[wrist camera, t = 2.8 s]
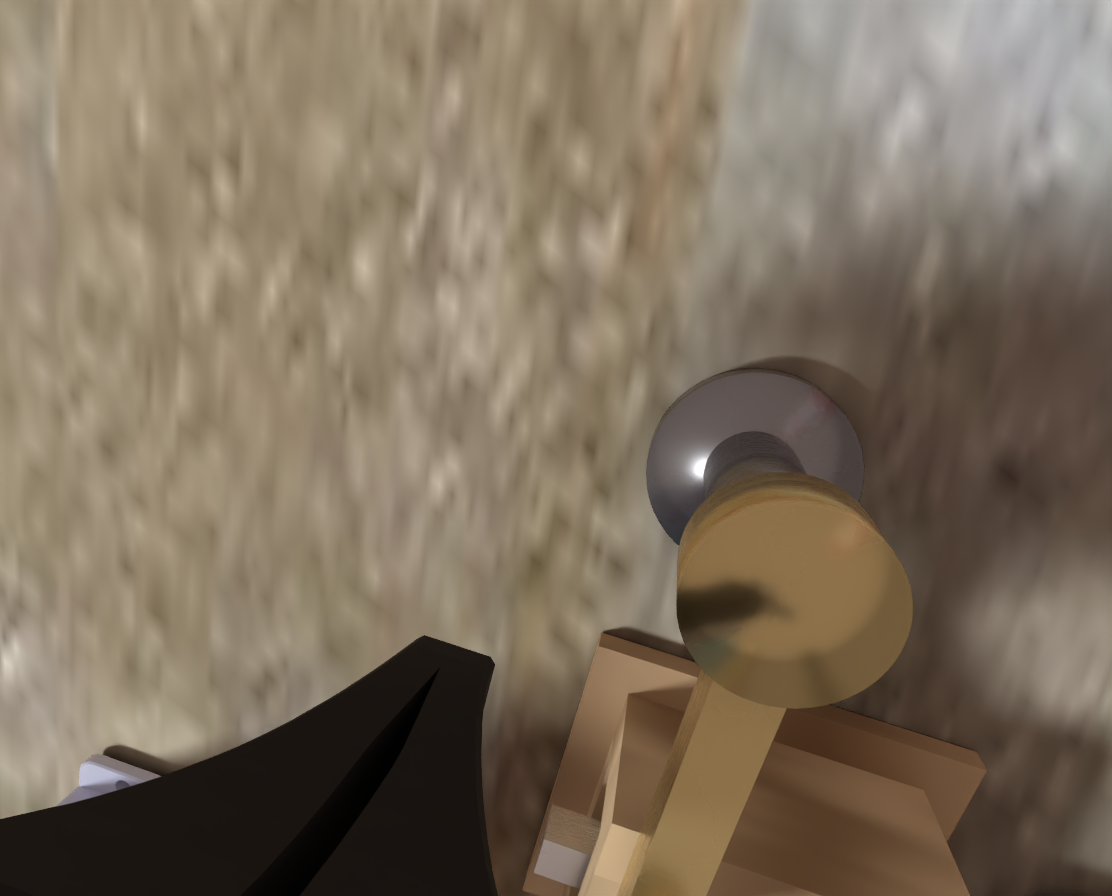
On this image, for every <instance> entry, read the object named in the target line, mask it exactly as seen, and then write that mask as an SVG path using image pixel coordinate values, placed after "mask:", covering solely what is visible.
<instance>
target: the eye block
mask: <svg viewBox="0 0 1112 896" xmlns="http://www.w3.org/2000/svg"><path fill="white" fill-rule="evenodd" d="M700 671H701V668H700V667H699V665H698V664H697V663H696V662H693V661H690V660H687V659H683V658H680V657H677V656H674V655H671V654H668V653H665V652H661V651H658V650H655V649H652V648H649V647H646V646H643V645H639V644H636V643H633V642H630V641H627V640H624V639H621V638H618V637H614V636H611V635H608V634H605V633H602V632H601V636H600V639H599V642H598V645H597V648H596V652H595V655H594V658H593V661H592V664H591V668H590V671H589V674H588V677H587V680H586V684H585V687H584V690H583V693H582V697H581V700H580V703H579V706H578V709H577V713H576V716H575V719H574V722H573V725H572V729H571V732H570V735H569V738H568V742H567V745H566V748H565V751H564V754H563V758H562V761H561V764H560V767H559V770H558V774H557V777H556V780H555V783H554V787H553V790H552V793H551V796H550V799H549V803H548V806H547V809H546V812H545V815H544V819H543V822H542V825H541V828H540V831H539V835H538V838H537V841H536V844H535V848H534V851H533V854H532V857H531V860H530V864H529V867H528V870H527V874H526V878H525V882H524V886H523V891H525V892H528V893H531V894H534V895H536V896H617V893H618V891H619V888H620V885H621V882H622V880H623V877H624V874H625V872H626V869H627V866H628V864H629V861H630V858H631V856H632V853H633V850H634V848H635V845H636V842H637V840H638V837H639V834H640V832H641V829H642V826H643V823H644V821H645V818H646V815H647V813H648V810H649V807H650V805H651V802H652V799H653V797H654V794H655V791H656V789H657V786H658V783H659V781H660V778H661V775H662V773H663V770H664V767H665V765H666V762H667V759H668V756H669V754H670V751H671V748H672V746H673V743H674V740H675V738H676V735H677V732H678V730H679V727H680V724H681V722H682V719H683V716H684V714H685V711H686V708H687V706H688V703H689V700H690V697H691V695H692V692H693V689H694V687H695V684H696V681H697V679H698V676H699V673H700ZM986 772H987V769H986V767H985V766H984V764H983V762H982V760H981V759H980V757H979V755H978V753H977V752H975V751H972V750H969V749H966V748H963V747H960V746H957V745H953V744H950V743H947V742H944V741H941V740H938V739H935V738H931V737H928V736H925V735H922V734H919V733H916V732H913V731H909V730H906V729H903V728H900V727H897V726H894V725H891V724H887V723H884V722H881V721H878V720H875V719H872V718H869V717H865V716H862V715H859V714H856V713H853V712H850V711H847V710H844V709H840V708H837V707H834V706H831V705H825V706H819V707H813V708H800V709H793V708H787V709H786V711H785V713H784V716H783V718H782V720H781V723H780V725H779V727H778V730H777V732H776V734H775V737H774V739H773V741H772V744H771V746H770V748H769V751H768V753H767V755H766V758H765V760H764V762H763V765H762V767H761V769H760V772H759V774H758V776H757V779H756V781H755V783H754V786H753V788H752V790H751V792H750V795H749V797H748V799H747V802H746V804H745V806H744V809H743V811H742V813H741V816H740V818H739V820H738V823H737V825H736V827H735V830H734V832H733V834H732V837H731V839H730V841H729V844H728V846H727V848H726V851H725V853H724V855H723V858H722V860H721V862H720V865H719V867H718V869H717V872H716V874H715V876H714V879H713V881H712V883H711V886H710V888H709V890H708V893H707V895H706V896H970V894H969V892H968V890H967V887H966V885H965V883H964V880H963V878H962V876H961V874H960V871H959V869H958V867H957V864H956V862H955V860H954V858H953V855H952V853H951V851H950V849H949V846H948V844H947V841H948V840H949V838H950V836H951V834H952V832H953V831H954V829H955V827H956V825H957V824H958V822H959V820H960V818H961V816H962V815H963V813H964V811H965V809H966V808H967V806H968V804H969V802H970V801H971V799H972V797H973V795H974V793H975V792H976V790H977V788H978V786H979V785H980V783H981V781H982V779H983V777H984V776H985V774H986ZM552 804H553V805H556V806H559V807H562V808H565V809H567V810H570V811H573V812H576V813H579V814H582V815H585V816H588V817H591V818H593V819H596V820H599V821H601V828H600V833H599V836H598V839H597V842H596V845H595V848H594V850H593V853H592V856H591V859H590V862H589V865H588V868H587V871H586V873H585V876H584V879H583V882H582V885H581V888H580V889H578V888H575V887H572V886H570V885H567V884H564V883H561V882H558V881H556V880H553V879H550V878H547V877H544V876H542V875H539V874H536V873H534V869H535V865H536V861H537V857H538V852H539V848H540V844H541V840H542V836H543V833H544V830H545V826H546V823H547V820H548V817H549V814H550V810H551V807H552Z"/></svg>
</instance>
